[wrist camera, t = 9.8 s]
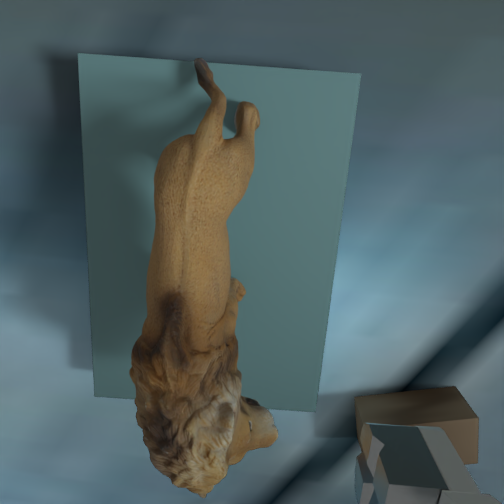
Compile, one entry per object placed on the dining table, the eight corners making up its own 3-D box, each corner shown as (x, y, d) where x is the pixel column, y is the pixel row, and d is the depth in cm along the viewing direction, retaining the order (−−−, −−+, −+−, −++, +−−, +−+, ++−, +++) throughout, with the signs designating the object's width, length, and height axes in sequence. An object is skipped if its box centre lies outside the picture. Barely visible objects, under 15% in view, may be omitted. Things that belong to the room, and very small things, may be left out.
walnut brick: (453, 384, 25) (478, 417, 22) (453, 425, 26) (477, 463, 23) (353, 394, 25) (365, 429, 22) (356, 435, 26) (368, 473, 23)
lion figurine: (274, 364, 22) (282, 521, 13) (172, 367, 22) (115, 524, 13) (260, 56, 17) (259, -11, 9) (134, 64, 18) (13, 6, 9)
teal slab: (349, 80, 20) (361, 73, 18) (310, 384, 25) (315, 412, 22) (99, 61, 20) (77, 53, 18) (110, 370, 25) (94, 396, 22)
